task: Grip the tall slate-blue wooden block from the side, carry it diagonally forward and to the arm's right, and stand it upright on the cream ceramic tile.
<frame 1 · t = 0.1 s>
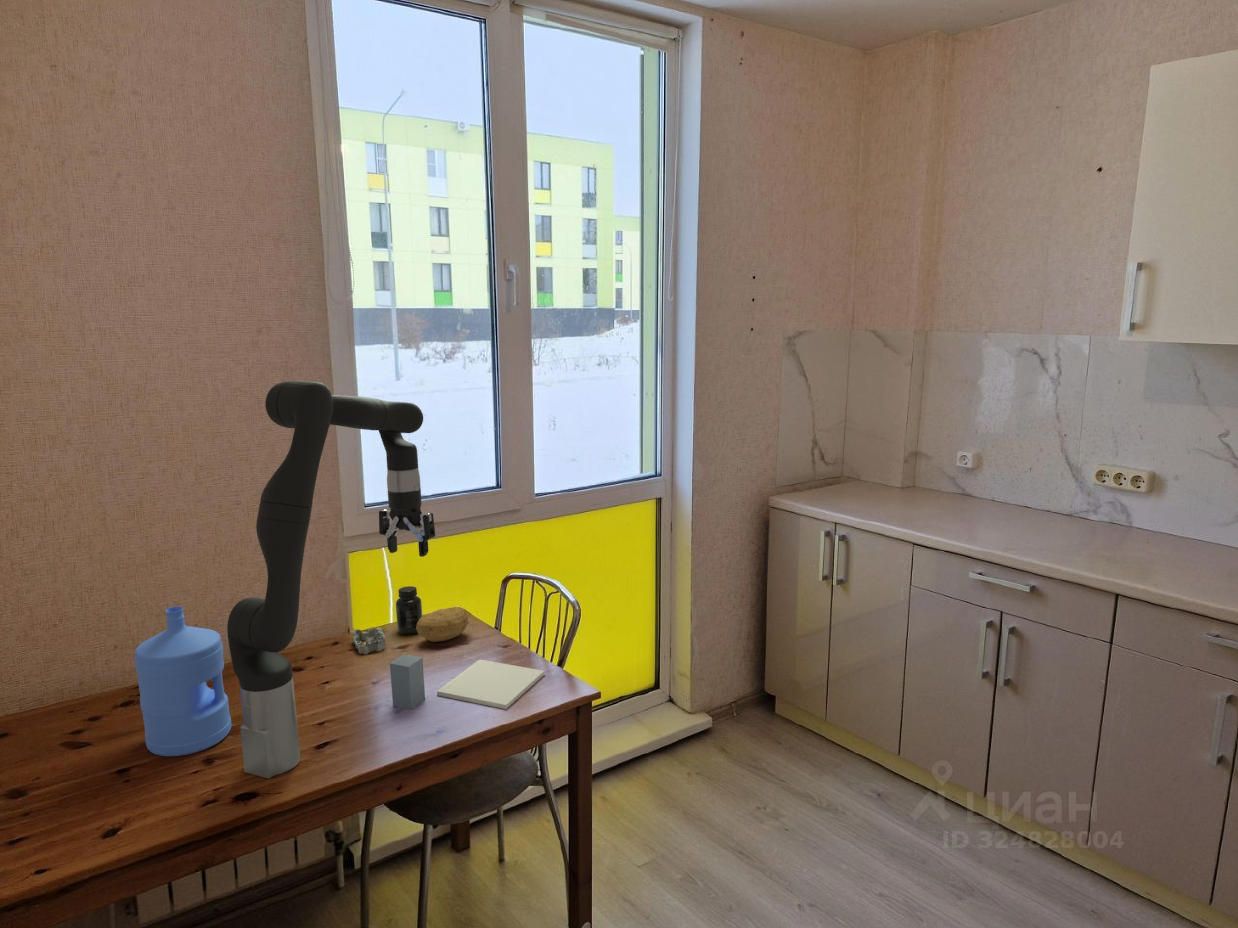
hand: (408, 553, 191), 29 cm above the table, tool pointing down, fingers open, 8 cm apart
supplement bottle: (410, 631, 220), on the table
cream tile: (492, 684, 187), on the table
potato: (443, 640, 213), on the table
water jug: (190, 738, 165), on the table
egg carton: (370, 646, 210), on the table
slate block: (409, 702, 179), on the table
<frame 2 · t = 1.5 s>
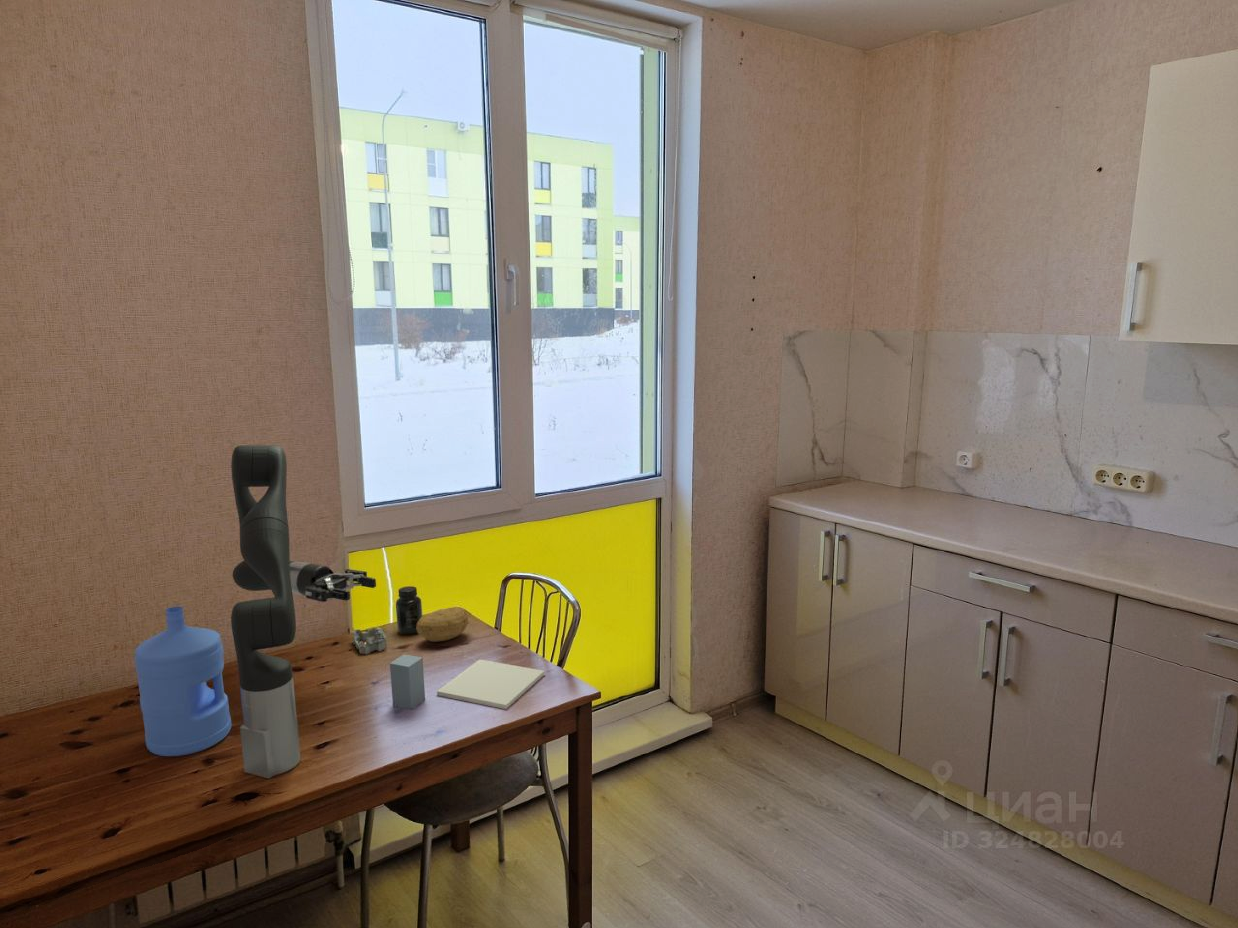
hand: (362, 589, 181), 24 cm above the table, tool horizontal, fingers open, 8 cm apart
nothing on the table moved.
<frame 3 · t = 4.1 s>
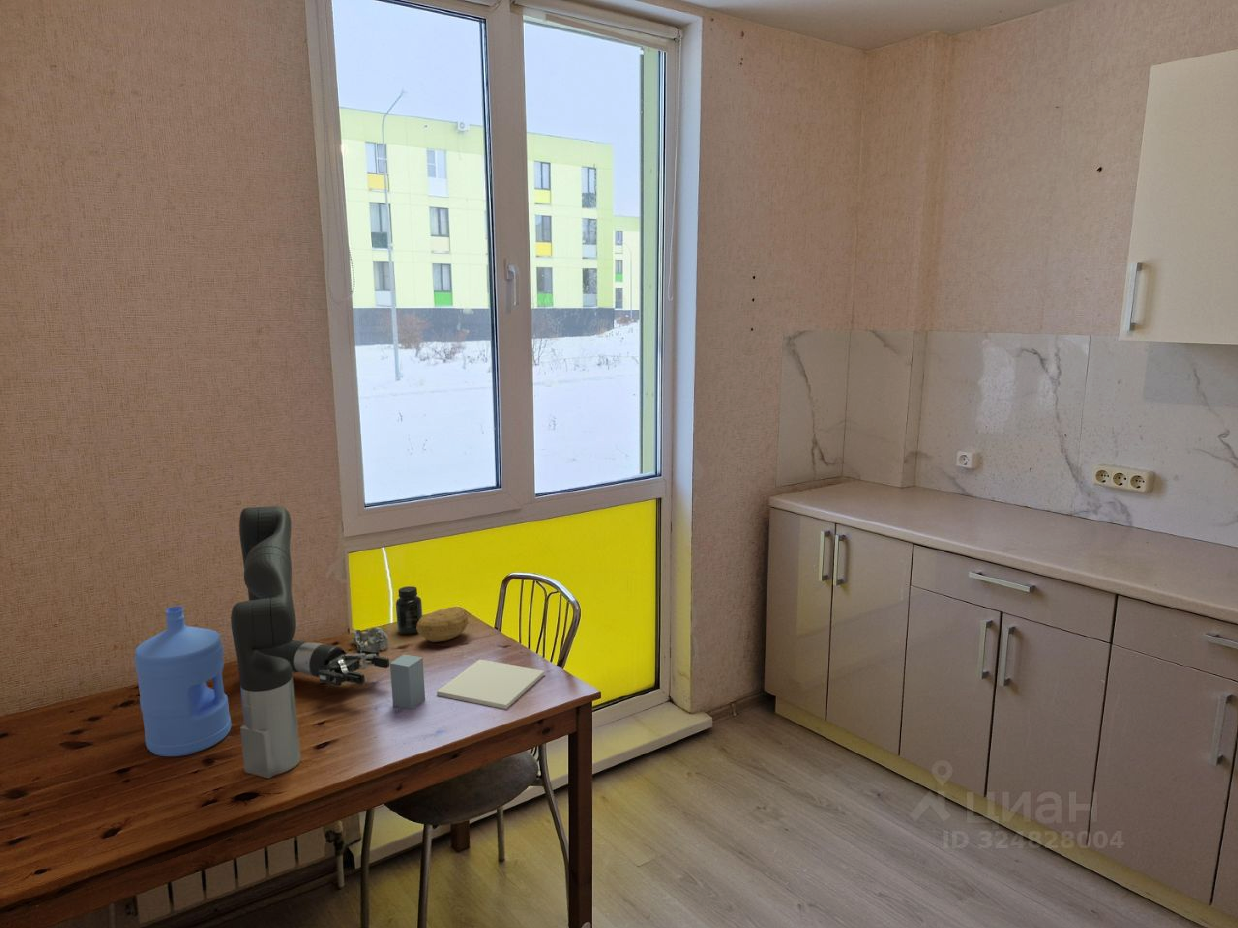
hand: (376, 670, 181), 6 cm above the table, tool horizontal, fingers open, 8 cm apart
nothing on the table moved.
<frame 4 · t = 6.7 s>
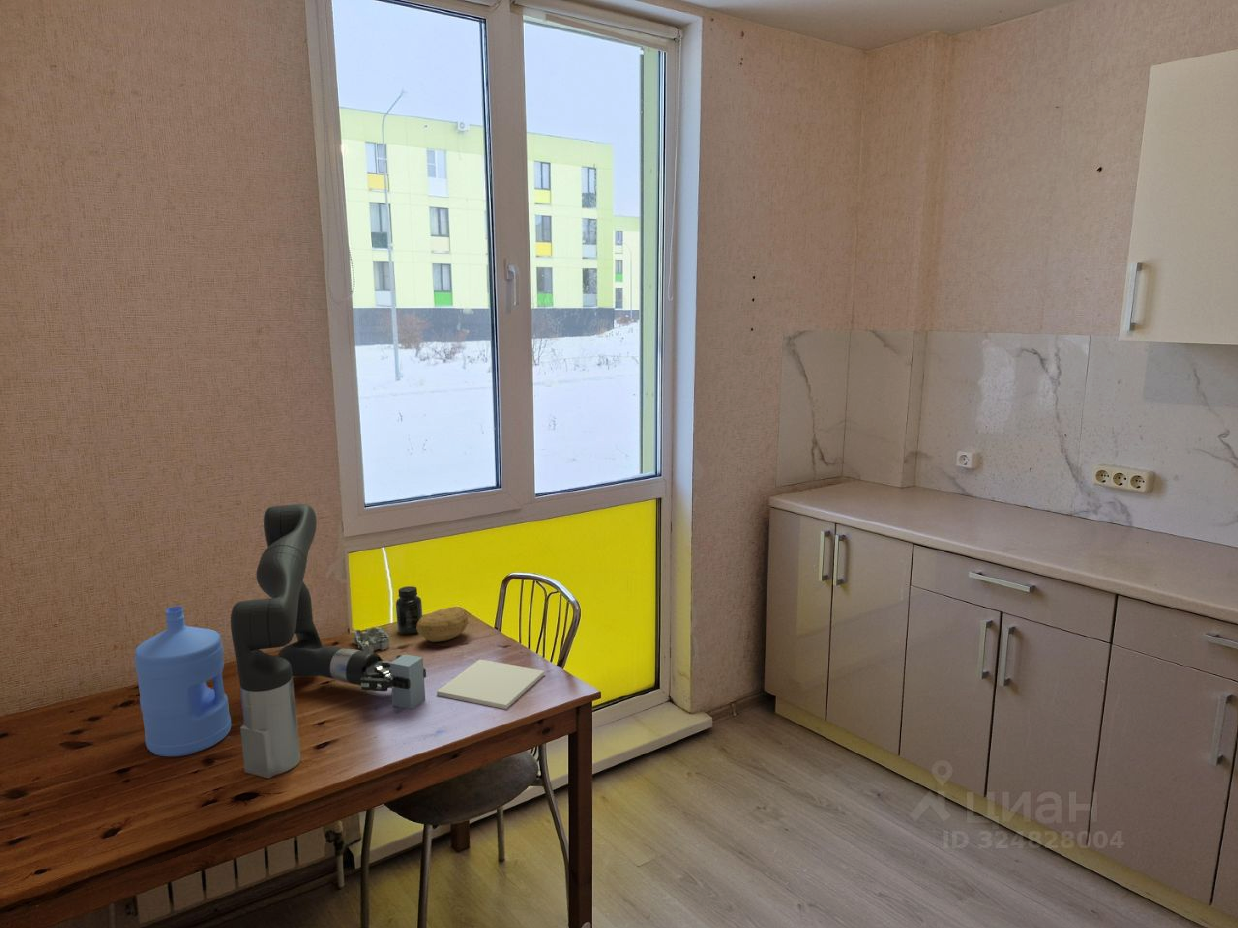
hand: (417, 678, 177), 6 cm above the table, tool horizontal, fingers closed on slate block, 5 cm apart
slate block: (409, 702, 179), on the table, touching gripper
everything else where it was.
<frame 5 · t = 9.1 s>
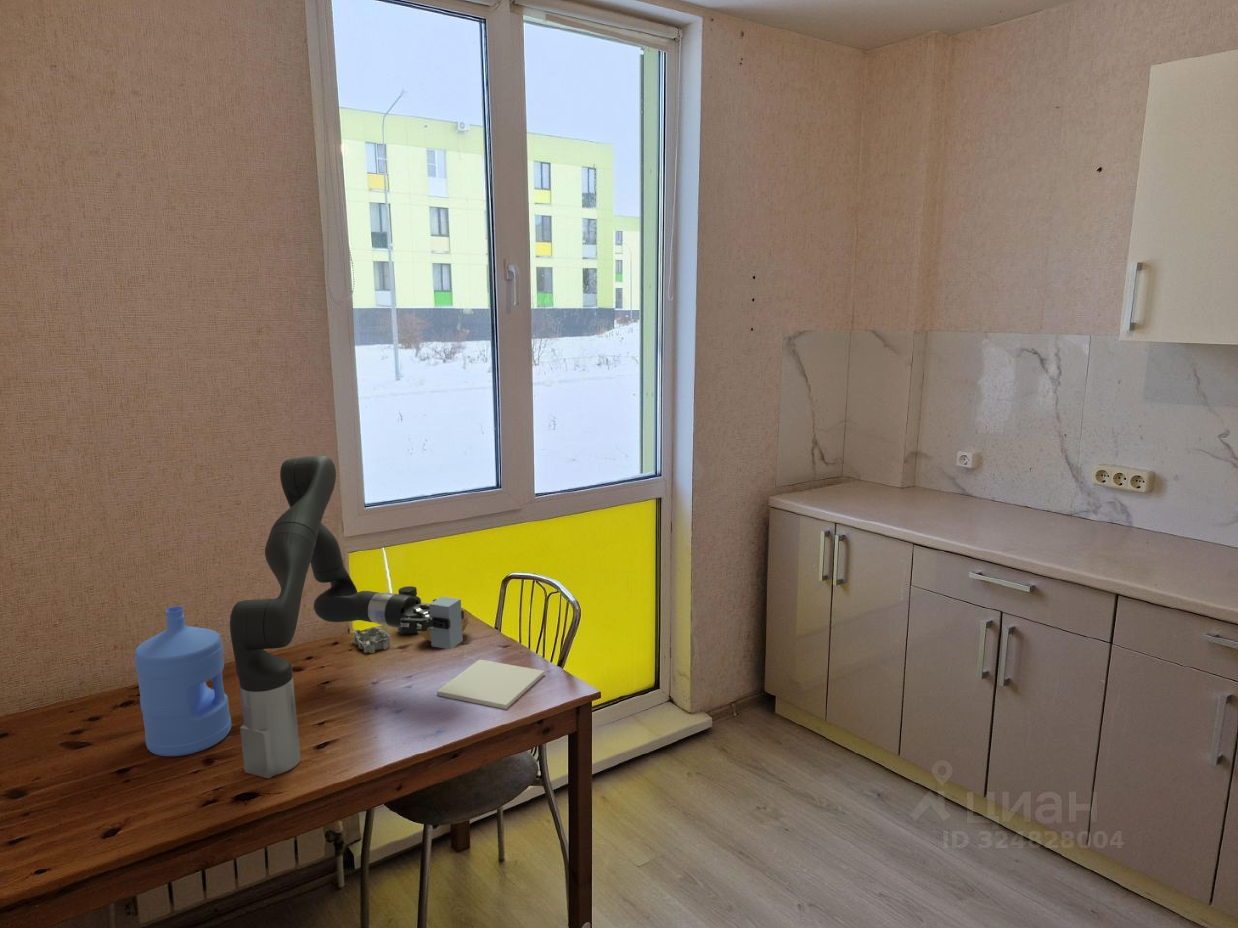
hand: (456, 619, 180), 18 cm above the table, tool horizontal, fingers closed on slate block, 5 cm apart
slate block: (447, 643, 182), point 12 cm above the table, touching gripper
everything else where it was.
when the fingers open (8 cm above the table, at t = 12.0 s): slate block drops 1 cm, resting on cream tile.
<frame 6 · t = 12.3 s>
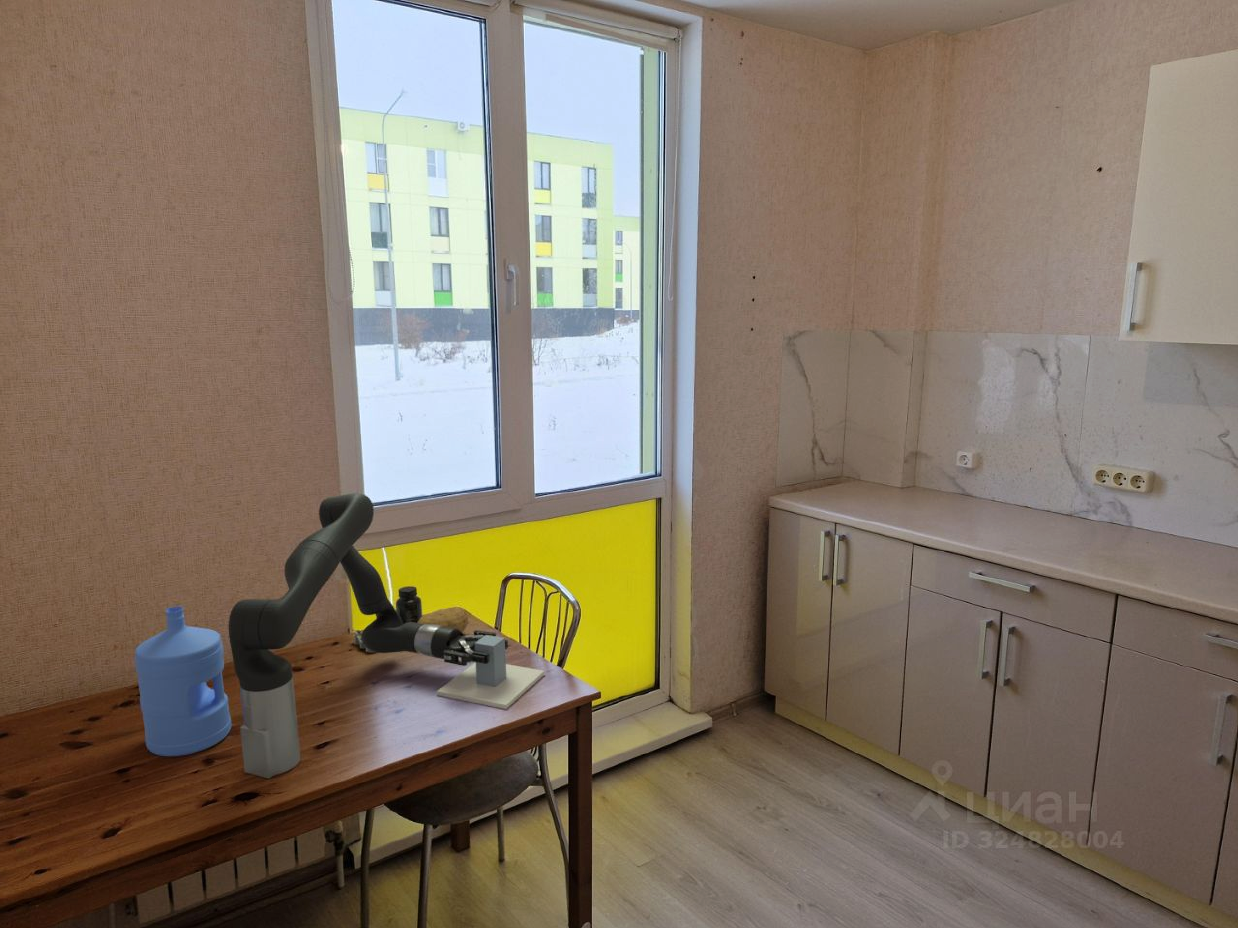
hand: (498, 651, 185), 8 cm above the table, tool horizontal, fingers open, 8 cm apart
slate block: (491, 680, 187), point 1 cm above the table, touching cream tile
everything else where it was.
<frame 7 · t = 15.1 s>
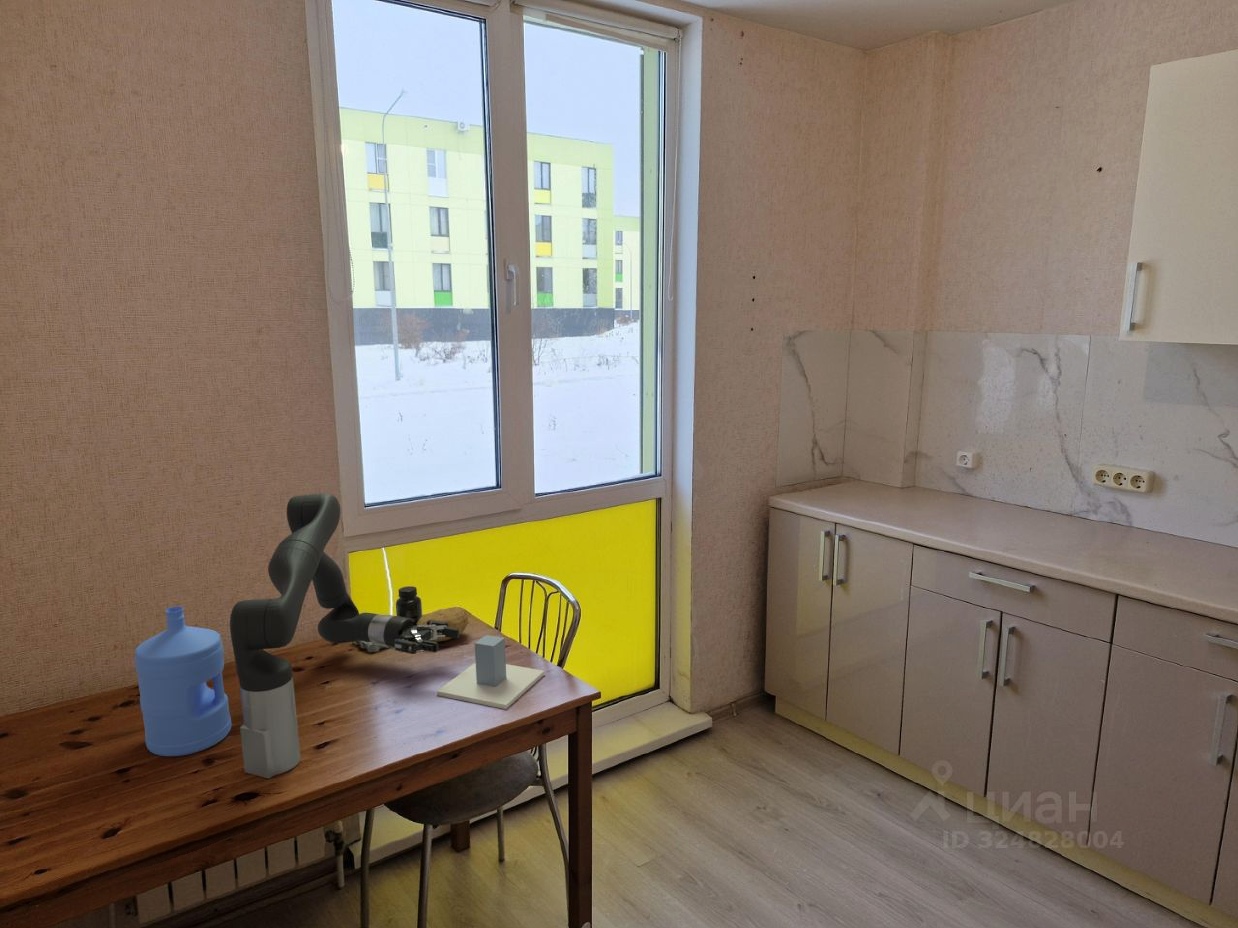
hand: (448, 640, 189), 9 cm above the table, tool horizontal, fingers open, 8 cm apart
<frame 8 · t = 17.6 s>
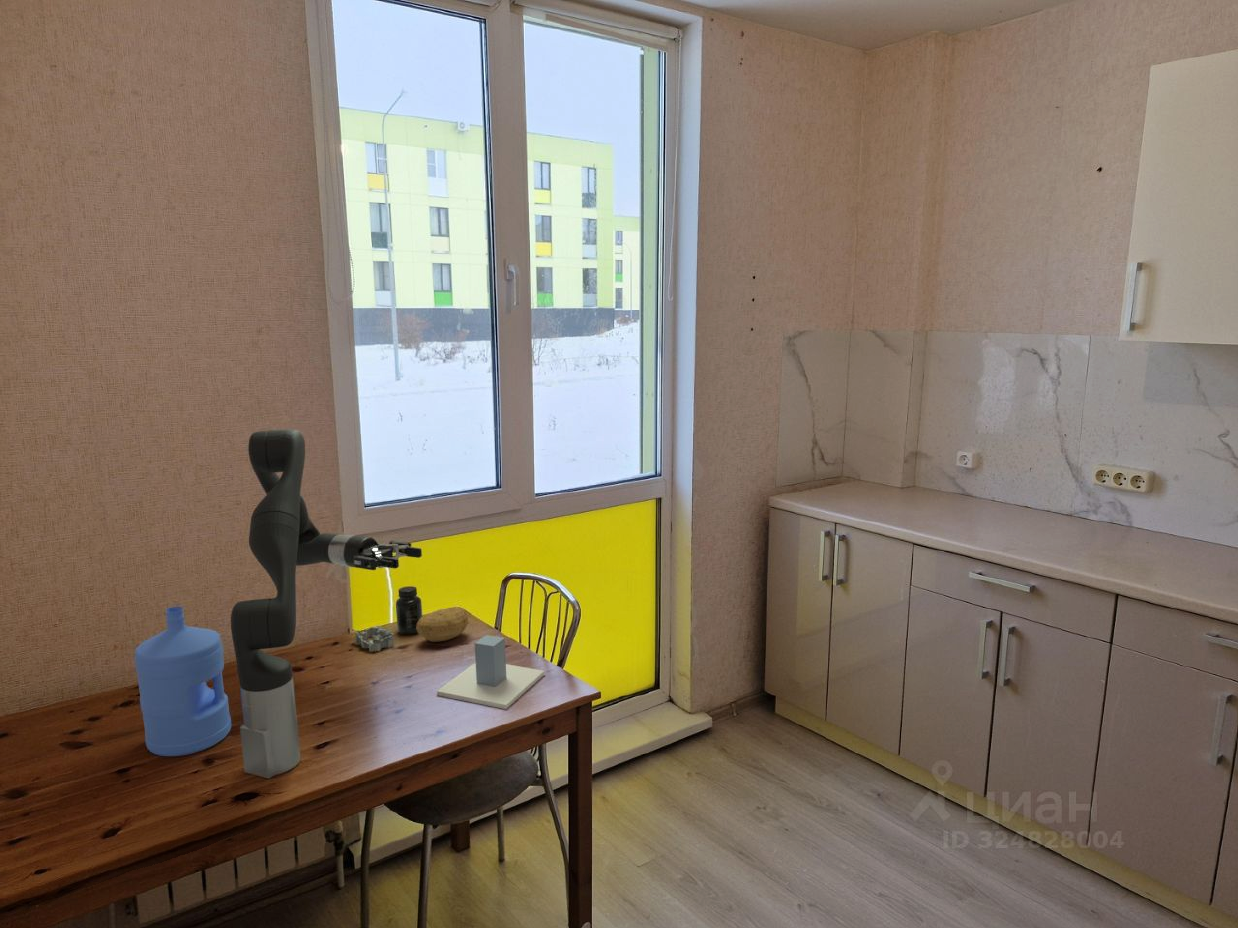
hand: (409, 558, 185), 30 cm above the table, tool horizontal, fingers open, 8 cm apart
at the end: slate block inside the target area on the cream tile (0.1 cm from its centre), point 1.0 cm above the cream tile's base; slate block tilted 0°; the gripper is holding nothing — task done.
